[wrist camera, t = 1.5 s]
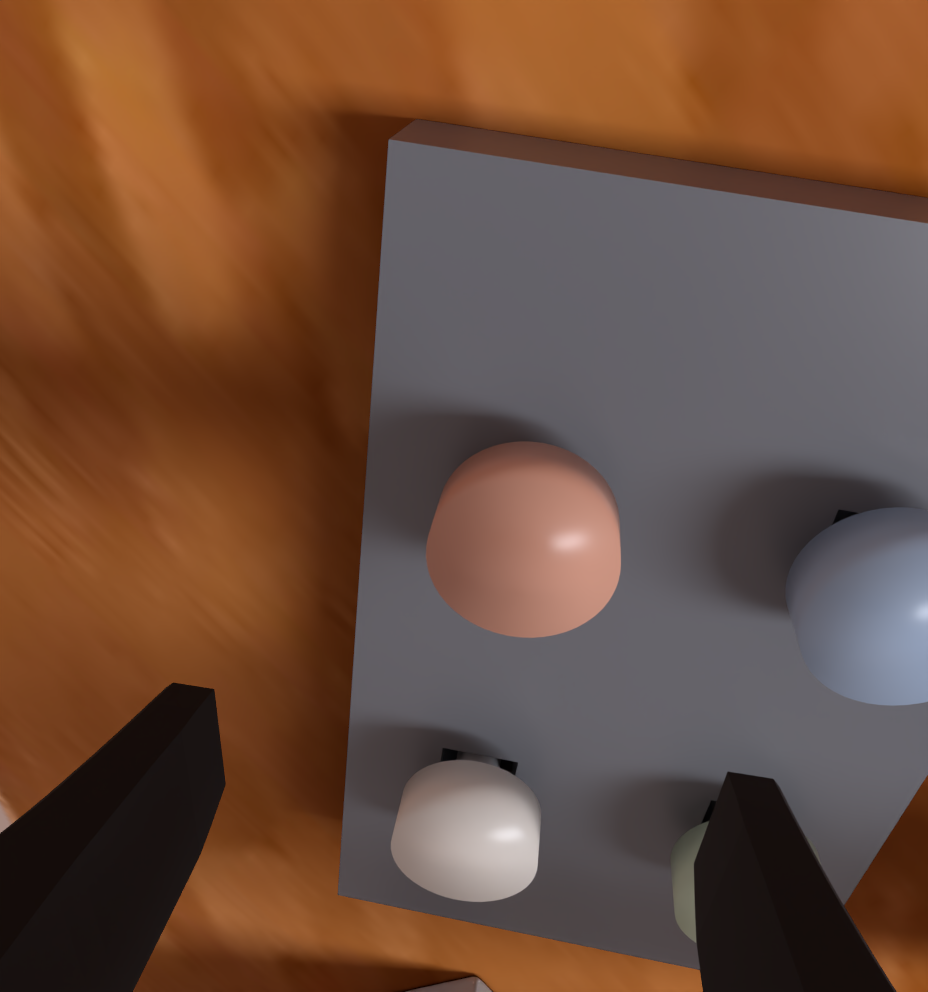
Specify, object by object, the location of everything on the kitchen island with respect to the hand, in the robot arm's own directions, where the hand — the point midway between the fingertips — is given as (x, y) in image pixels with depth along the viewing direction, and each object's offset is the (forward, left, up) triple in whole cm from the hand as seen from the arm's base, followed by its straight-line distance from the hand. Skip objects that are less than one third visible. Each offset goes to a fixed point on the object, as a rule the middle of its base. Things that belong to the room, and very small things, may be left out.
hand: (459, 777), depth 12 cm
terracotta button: (0, -1, -8) cm, 8 cm away
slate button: (-7, -1, -8) cm, 11 cm away
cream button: (0, +9, -8) cm, 12 cm away
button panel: (-4, +4, -9) cm, 11 cm away
